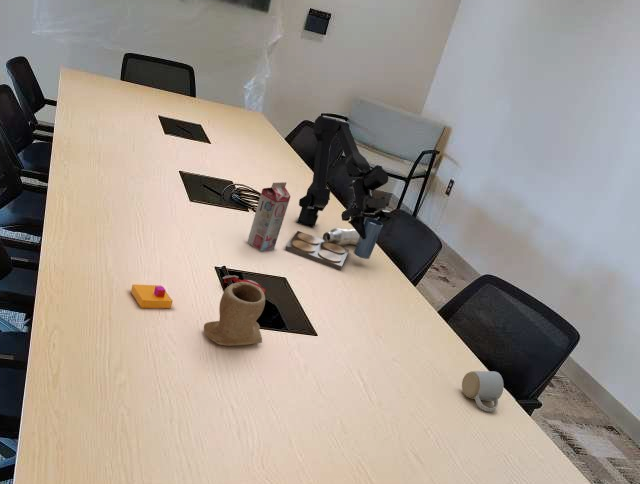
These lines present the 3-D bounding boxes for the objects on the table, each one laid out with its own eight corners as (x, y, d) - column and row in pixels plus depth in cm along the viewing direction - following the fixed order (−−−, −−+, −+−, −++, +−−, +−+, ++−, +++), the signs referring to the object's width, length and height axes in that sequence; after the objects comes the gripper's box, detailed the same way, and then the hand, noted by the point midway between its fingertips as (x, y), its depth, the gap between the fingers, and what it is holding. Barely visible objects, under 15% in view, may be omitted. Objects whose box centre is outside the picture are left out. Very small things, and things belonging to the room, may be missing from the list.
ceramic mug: (455, 387, 177) (468, 363, 173) (480, 389, 180) (493, 366, 176) (476, 412, 169) (490, 387, 165) (501, 414, 172) (516, 390, 168)
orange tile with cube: (140, 307, 165) (144, 292, 163) (130, 292, 170) (133, 277, 168) (170, 308, 169) (174, 293, 167) (159, 293, 175) (163, 278, 172)
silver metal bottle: (369, 243, 252) (334, 244, 239) (355, 246, 257) (320, 247, 244) (368, 226, 251) (332, 226, 238) (354, 229, 256) (318, 229, 243)
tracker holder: (257, 281, 196) (274, 290, 188) (251, 295, 197) (268, 305, 189) (222, 269, 189) (239, 278, 181) (217, 284, 190) (233, 293, 182)
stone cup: (217, 354, 157) (233, 298, 149) (197, 327, 165) (211, 273, 157) (271, 352, 165) (289, 299, 157) (249, 327, 173) (266, 275, 165)
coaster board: (285, 249, 228) (286, 244, 227) (296, 234, 245) (298, 229, 244) (340, 270, 226) (342, 265, 226) (348, 253, 244) (349, 248, 243)
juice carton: (273, 249, 225) (293, 186, 214) (261, 251, 221) (280, 186, 209) (260, 240, 228) (278, 178, 217) (247, 242, 224) (265, 178, 212)
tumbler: (352, 254, 233) (365, 220, 226) (354, 249, 238) (367, 216, 232) (368, 260, 232) (382, 227, 226) (370, 255, 238) (383, 222, 231)
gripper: (358, 184, 221) (367, 229, 219) (398, 188, 231) (406, 232, 230) (336, 197, 230) (344, 241, 228) (376, 201, 240) (383, 243, 239)
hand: (370, 239), depth 231 cm, fingers closed on tumbler, 6 cm apart
